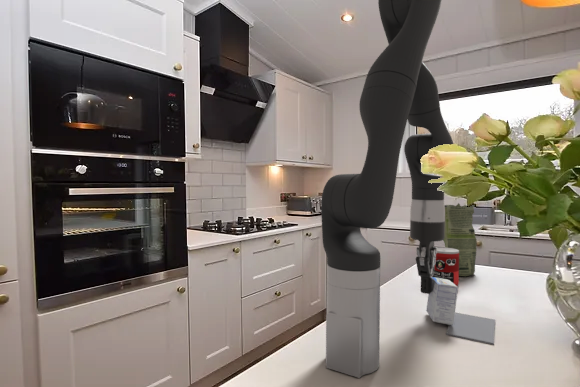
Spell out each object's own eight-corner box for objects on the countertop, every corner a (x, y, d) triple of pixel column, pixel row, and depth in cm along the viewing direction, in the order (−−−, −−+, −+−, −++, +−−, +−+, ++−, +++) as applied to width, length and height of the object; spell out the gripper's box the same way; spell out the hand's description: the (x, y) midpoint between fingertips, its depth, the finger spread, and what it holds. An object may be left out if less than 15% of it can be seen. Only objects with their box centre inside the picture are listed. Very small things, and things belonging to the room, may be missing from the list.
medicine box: (453, 326, 75) (459, 287, 75) (431, 321, 76) (437, 283, 76) (444, 315, 83) (450, 279, 83) (425, 311, 84) (430, 276, 84)
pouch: (439, 274, 120) (440, 203, 120) (443, 267, 130) (444, 201, 130) (475, 279, 115) (476, 204, 114) (476, 271, 125) (477, 202, 124)
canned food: (427, 283, 109) (427, 249, 109) (438, 279, 115) (439, 246, 114) (452, 289, 104) (452, 253, 103) (462, 284, 109) (463, 249, 109)
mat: (493, 344, 68) (493, 343, 68) (446, 334, 72) (446, 333, 72) (495, 320, 80) (495, 319, 80) (454, 313, 84) (454, 312, 84)
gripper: (440, 222, 73) (439, 303, 73) (448, 217, 84) (447, 287, 85) (404, 220, 77) (403, 297, 77) (416, 216, 88) (415, 283, 89)
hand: (426, 292), depth 81 cm, fingers closed
